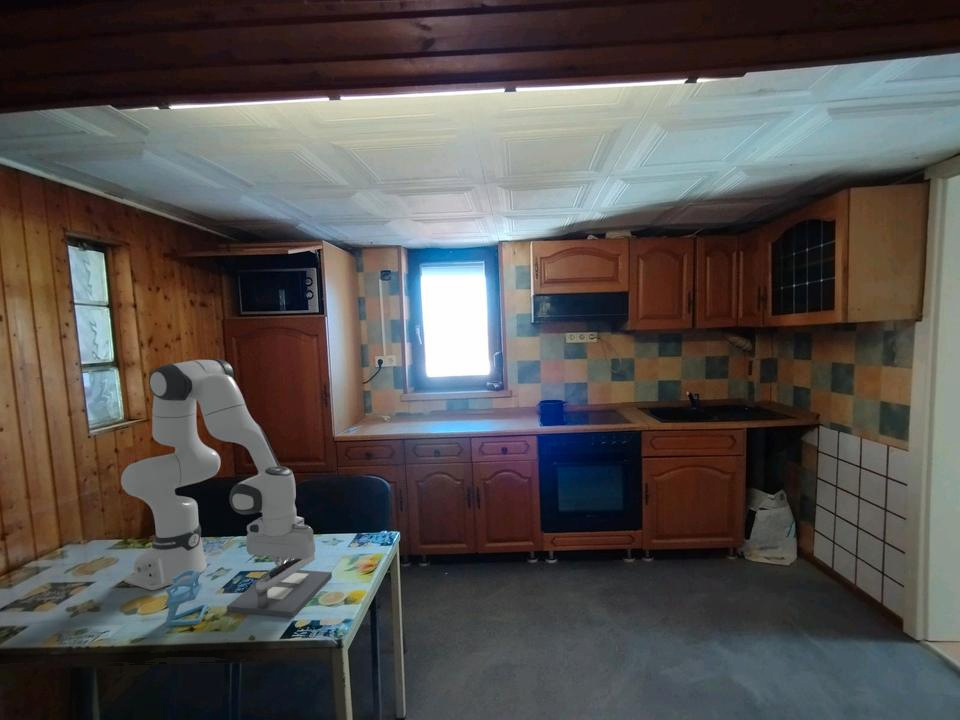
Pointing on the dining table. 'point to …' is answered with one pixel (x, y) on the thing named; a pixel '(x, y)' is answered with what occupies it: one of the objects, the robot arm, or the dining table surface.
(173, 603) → the chair
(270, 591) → the grey base plate
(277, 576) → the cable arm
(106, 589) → the dining table surface
